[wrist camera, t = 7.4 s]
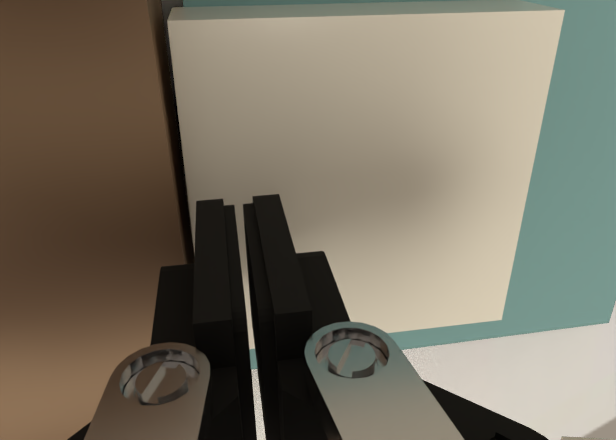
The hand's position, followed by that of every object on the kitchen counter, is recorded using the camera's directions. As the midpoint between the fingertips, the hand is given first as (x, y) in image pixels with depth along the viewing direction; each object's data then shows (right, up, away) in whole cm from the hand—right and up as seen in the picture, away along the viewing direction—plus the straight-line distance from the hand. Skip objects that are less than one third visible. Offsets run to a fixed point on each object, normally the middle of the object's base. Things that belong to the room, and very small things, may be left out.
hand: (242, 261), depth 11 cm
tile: (+2, +2, +3) cm, 4 cm away
